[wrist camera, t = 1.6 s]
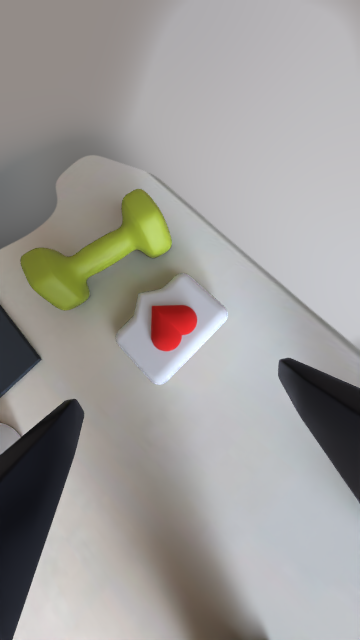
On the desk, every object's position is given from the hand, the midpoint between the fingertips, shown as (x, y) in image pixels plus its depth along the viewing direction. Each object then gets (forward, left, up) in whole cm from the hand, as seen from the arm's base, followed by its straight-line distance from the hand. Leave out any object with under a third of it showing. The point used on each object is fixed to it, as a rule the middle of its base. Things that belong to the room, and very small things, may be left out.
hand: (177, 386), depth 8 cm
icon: (+6, +1, -15) cm, 16 cm away
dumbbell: (+16, +6, -15) cm, 23 cm away
